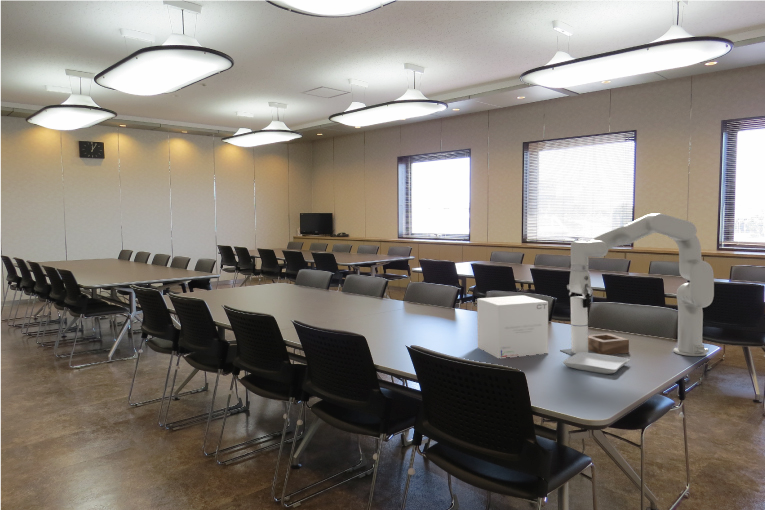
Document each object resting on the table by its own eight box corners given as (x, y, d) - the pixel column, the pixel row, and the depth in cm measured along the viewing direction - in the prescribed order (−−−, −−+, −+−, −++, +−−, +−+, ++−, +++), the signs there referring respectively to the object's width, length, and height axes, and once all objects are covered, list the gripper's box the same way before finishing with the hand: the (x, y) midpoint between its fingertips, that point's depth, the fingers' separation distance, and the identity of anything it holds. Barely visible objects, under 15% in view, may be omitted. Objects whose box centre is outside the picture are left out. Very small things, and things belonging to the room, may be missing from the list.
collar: (628, 352, 238) (628, 339, 237) (602, 355, 234) (602, 342, 234) (607, 345, 251) (608, 333, 251) (582, 348, 248) (582, 335, 247)
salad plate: (579, 358, 232) (579, 350, 232) (630, 365, 219) (630, 357, 218) (561, 369, 216) (561, 361, 215) (616, 378, 202) (616, 369, 202)
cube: (498, 359, 233) (498, 305, 231) (477, 348, 254) (477, 298, 252) (548, 354, 240) (548, 301, 238) (523, 344, 260) (523, 295, 258)
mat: (599, 354, 235) (599, 353, 235) (576, 357, 232) (576, 356, 232) (582, 348, 246) (582, 347, 246) (560, 350, 243) (560, 349, 243)
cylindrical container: (570, 352, 238) (569, 298, 236) (572, 349, 244) (571, 296, 242) (587, 354, 234) (586, 298, 233) (589, 350, 241) (588, 296, 239)
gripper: (599, 269, 229) (599, 308, 230) (574, 266, 246) (574, 302, 247) (584, 270, 227) (584, 309, 228) (560, 267, 244) (560, 303, 245)
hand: (579, 305), depth 238 cm, fingers open, 9 cm apart
